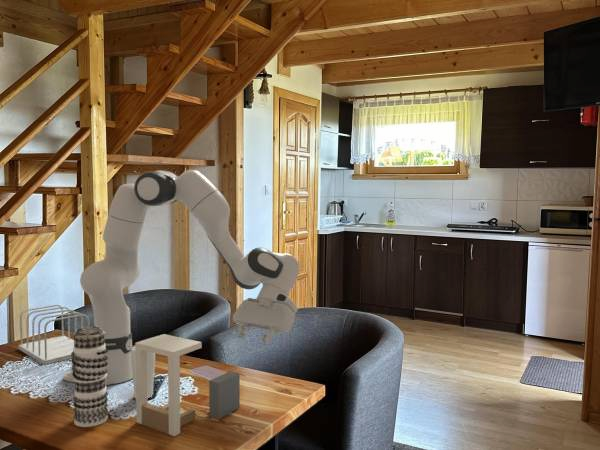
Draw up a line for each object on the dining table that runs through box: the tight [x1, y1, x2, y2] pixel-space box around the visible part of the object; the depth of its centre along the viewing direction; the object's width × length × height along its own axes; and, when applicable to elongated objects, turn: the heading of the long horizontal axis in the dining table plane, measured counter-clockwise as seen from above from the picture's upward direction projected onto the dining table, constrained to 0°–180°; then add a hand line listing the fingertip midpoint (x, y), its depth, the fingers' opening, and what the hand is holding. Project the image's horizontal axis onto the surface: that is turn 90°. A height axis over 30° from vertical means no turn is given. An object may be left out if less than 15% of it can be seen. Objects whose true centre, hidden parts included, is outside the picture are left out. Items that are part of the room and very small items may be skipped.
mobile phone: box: [189, 364, 227, 381], centre depth 177 cm, size 8×1×15 cm
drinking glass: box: [131, 345, 156, 400], centre depth 157 cm, size 7×7×15 cm
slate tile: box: [208, 370, 241, 420], centre depth 147 cm, size 9×3×10 cm, turn 148°
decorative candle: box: [70, 325, 109, 428], centre depth 141 cm, size 9×9×25 cm
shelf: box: [134, 333, 203, 437], centre depth 141 cm, size 12×14×22 cm
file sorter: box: [18, 304, 91, 366], centre depth 199 cm, size 25×17×16 cm
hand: (252, 339), depth 157 cm, fingers open, 8 cm apart
